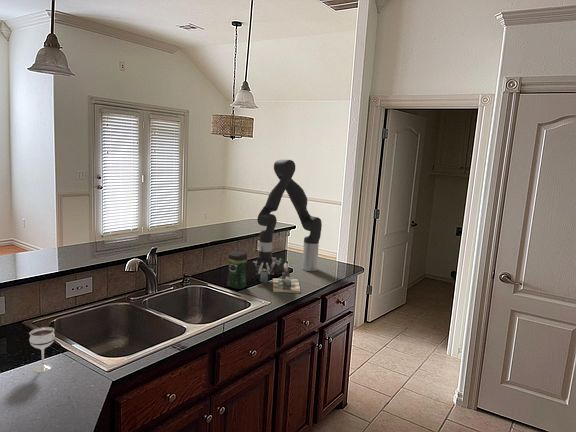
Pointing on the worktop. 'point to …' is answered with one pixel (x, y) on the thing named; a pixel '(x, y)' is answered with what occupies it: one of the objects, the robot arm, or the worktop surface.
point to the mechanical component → (275, 261)
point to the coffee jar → (237, 270)
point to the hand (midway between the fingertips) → (263, 279)
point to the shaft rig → (286, 283)
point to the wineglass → (42, 344)
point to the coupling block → (264, 276)
